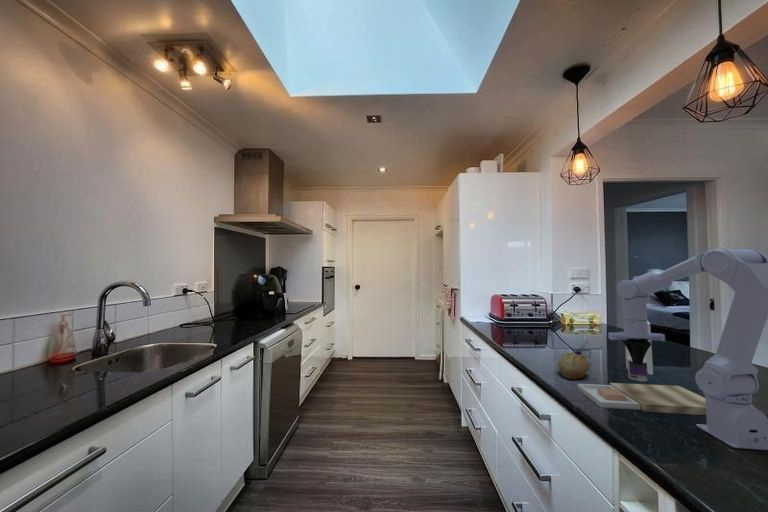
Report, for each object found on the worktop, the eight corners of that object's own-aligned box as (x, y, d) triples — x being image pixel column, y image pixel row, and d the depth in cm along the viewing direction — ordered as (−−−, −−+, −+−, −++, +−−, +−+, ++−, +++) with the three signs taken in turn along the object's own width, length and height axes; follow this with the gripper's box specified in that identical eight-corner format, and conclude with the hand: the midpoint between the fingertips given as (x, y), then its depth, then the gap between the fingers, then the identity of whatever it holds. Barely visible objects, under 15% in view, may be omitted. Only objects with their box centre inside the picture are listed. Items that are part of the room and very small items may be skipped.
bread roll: (591, 372, 115) (590, 351, 115) (588, 384, 103) (587, 360, 103) (562, 367, 121) (561, 347, 121) (556, 378, 109) (555, 355, 109)
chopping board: (679, 392, 95) (678, 385, 95) (728, 416, 79) (727, 408, 79) (609, 389, 98) (609, 382, 98) (644, 411, 82) (643, 404, 82)
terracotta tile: (615, 394, 93) (615, 389, 93) (625, 401, 88) (625, 395, 88) (597, 393, 94) (597, 388, 94) (606, 400, 89) (606, 394, 89)
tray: (610, 390, 97) (610, 385, 97) (640, 409, 83) (640, 404, 83) (577, 388, 99) (577, 383, 99) (601, 407, 85) (600, 401, 85)
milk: (626, 368, 118) (622, 312, 120) (644, 370, 116) (641, 313, 118) (634, 373, 112) (630, 314, 114) (653, 375, 111) (649, 315, 112)
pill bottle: (651, 382, 103) (650, 354, 104) (634, 381, 104) (632, 353, 105) (641, 377, 109) (640, 350, 109) (624, 376, 110) (623, 349, 110)
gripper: (651, 317, 95) (654, 360, 94) (601, 317, 97) (603, 359, 96) (669, 321, 88) (672, 367, 87) (615, 320, 90) (617, 366, 89)
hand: (637, 364), depth 91 cm, fingers closed
